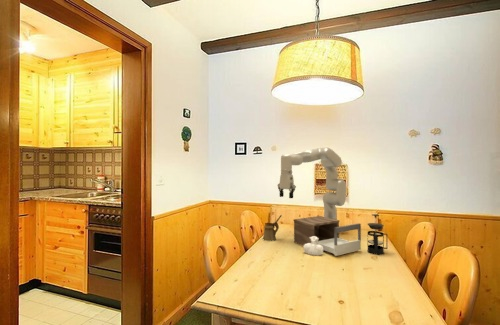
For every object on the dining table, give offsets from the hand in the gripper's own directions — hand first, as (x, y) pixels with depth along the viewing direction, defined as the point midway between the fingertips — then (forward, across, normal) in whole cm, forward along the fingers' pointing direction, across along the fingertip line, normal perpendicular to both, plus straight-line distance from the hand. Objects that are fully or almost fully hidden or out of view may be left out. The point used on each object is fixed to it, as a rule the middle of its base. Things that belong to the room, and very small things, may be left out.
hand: (286, 197), depth 183 cm
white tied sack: (+31, -27, +3) cm, 41 cm away
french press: (+31, -48, -30) cm, 64 cm away
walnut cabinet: (+31, -14, -15) cm, 37 cm away
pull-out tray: (+30, -31, -14) cm, 45 cm away
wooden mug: (+31, +10, +4) cm, 33 cm away
